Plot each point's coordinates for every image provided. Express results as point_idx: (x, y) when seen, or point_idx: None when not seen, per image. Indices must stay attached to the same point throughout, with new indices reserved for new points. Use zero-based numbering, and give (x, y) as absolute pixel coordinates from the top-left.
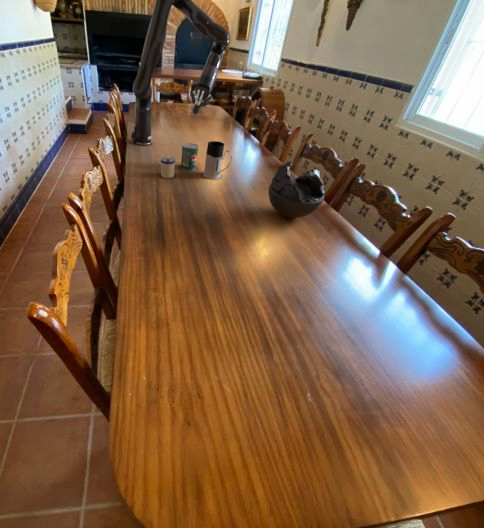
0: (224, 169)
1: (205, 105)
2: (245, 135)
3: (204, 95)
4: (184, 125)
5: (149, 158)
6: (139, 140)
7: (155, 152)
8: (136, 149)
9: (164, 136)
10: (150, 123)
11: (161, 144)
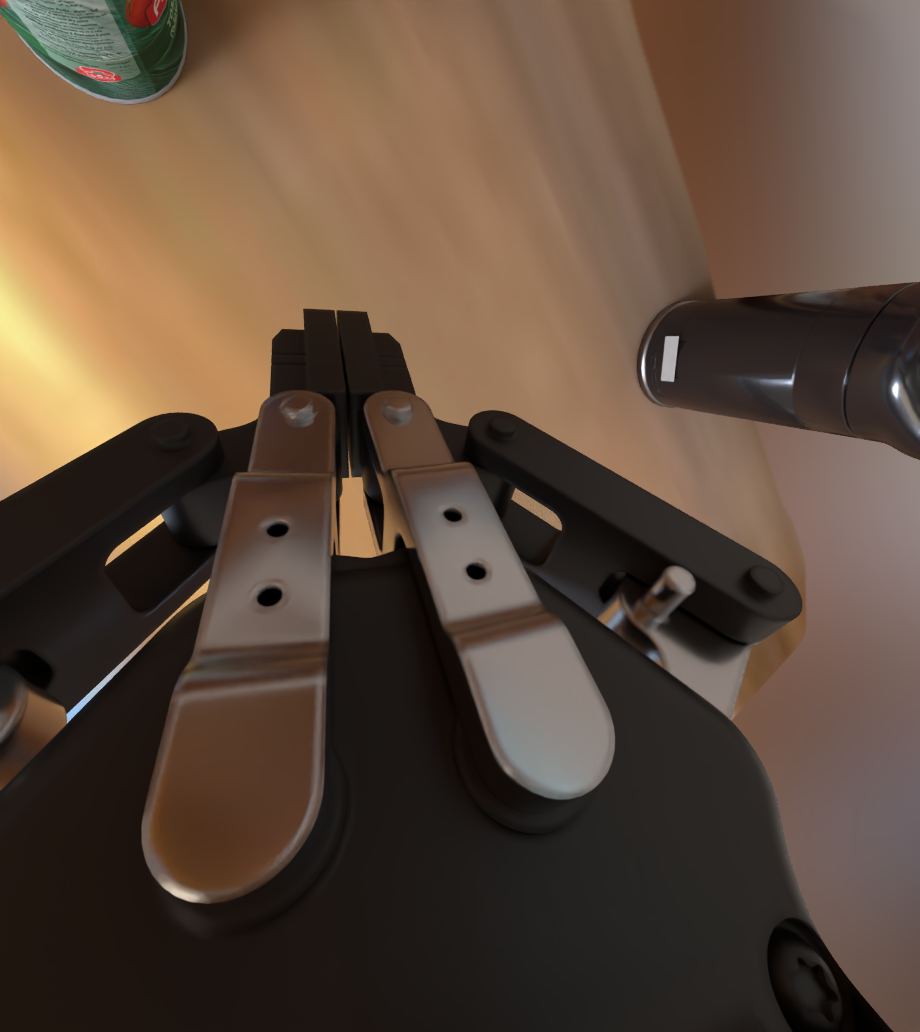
0: None
1: (146, 544)
2: None
3: (162, 699)
4: None
5: (514, 53)
6: (703, 301)
7: (544, 235)
8: (663, 204)
9: None
10: (753, 378)
11: (586, 418)
